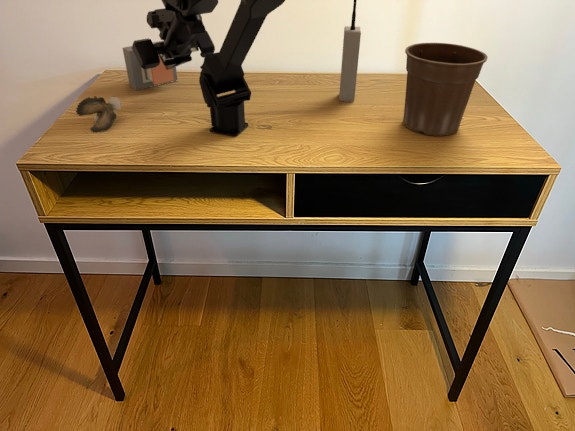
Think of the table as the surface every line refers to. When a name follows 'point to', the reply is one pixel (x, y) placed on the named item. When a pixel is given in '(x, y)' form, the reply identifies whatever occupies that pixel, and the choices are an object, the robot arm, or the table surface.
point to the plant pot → (439, 85)
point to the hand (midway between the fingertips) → (167, 68)
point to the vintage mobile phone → (350, 60)
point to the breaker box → (138, 70)
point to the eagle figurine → (99, 111)
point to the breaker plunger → (159, 74)
